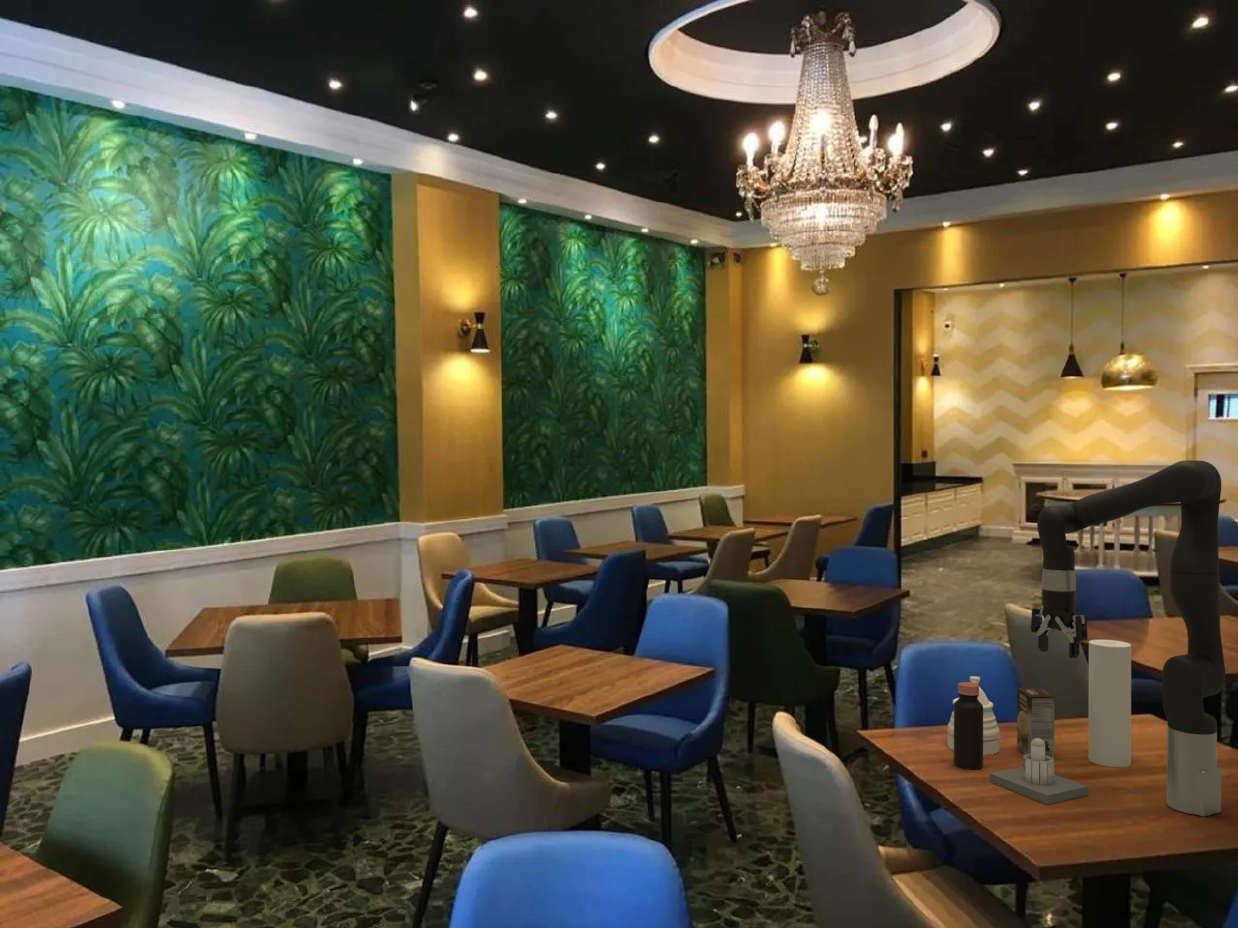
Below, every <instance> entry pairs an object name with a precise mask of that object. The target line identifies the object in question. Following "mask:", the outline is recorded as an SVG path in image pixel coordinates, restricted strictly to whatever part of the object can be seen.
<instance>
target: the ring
mask: <svg viewBox="0 0 1238 928" xmlns="http://www.w3.org/2000/svg"><path fill="white" fill-rule="evenodd" d="M1022 767H1023V779H1024V780H1025V781H1027V782H1030V783H1034V784H1040V785H1049V784H1052V783H1053V782H1054V774H1055V758H1054V759H1053V758H1052V757H1049V756H1046V755H1045V761H1035V760H1032V759H1031V754H1023V756H1022Z"/></svg>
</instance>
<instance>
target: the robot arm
mask: <svg viewBox="0 0 1238 928" xmlns="http://www.w3.org/2000/svg"><path fill="white" fill-rule="evenodd" d="M1221 493H1222V477H1221V474H1220V472H1219V471H1218V469H1217V468H1216V467H1215V465H1213V464H1212V463H1211V462H1208V461H1205V460H1199V459H1198V460H1195V459H1194V460H1193V459H1191V460H1187V459H1186V460H1180V461H1176V462H1175V463H1172V464H1170V465H1169V466H1166V467H1164V468H1163V469H1161V470H1159V471H1157V472H1155V473H1153V474H1151V475H1149V476H1147V477H1144V478H1142V479H1138V480H1136V481H1133V482H1132V483H1127V484H1124V485H1121V486H1117V487H1113V488H1109V489H1106V490H1102V491H1098V492H1096V493H1093V494H1090V495H1086V496H1084V497H1081V498H1080V499H1078V501H1075V502H1071V503H1067V504H1063V505H1062V504H1061V505H1059V504H1058V505H1048V506H1045V507H1044V508H1042V510H1040V512H1039V514H1038V517H1037V520H1036V521H1037V523H1036V524H1037V533H1038V537H1039V543H1040V545H1041V549H1042V552H1043V553H1042V575H1041V606H1042V607H1043V608H1042V607H1033V608H1031V621H1030V631H1031V632H1032V633H1035V634H1036V635H1037V636H1038V640H1037V641H1038V643H1037V644H1038V645H1037V646H1038V649H1039V652H1042V653H1044V652H1048V651H1049V633H1050V631H1051V630H1057V631H1061V632H1063V634H1064V635H1066V637H1067V639H1068V640H1069V643H1068V644H1069V645H1068V646H1069V647H1068V649H1069V651H1068V652H1069V653H1068V654H1069V655H1068V657H1069V658H1071V659H1077V658H1078V657H1079V656H1080V646H1081V645H1080V644H1081V642H1085V641H1088V617H1087V616H1086V615H1085V614H1082V615H1076V614H1075V610H1076V609H1075V608H1076V606H1077V604H1076V603H1077V599H1076V598H1077V590H1076V589H1077V586H1076V585H1077V580H1076V579H1077V578H1076V572H1075V571H1076V570H1075V568H1076V567H1075V565H1076V563H1075V562H1076V557H1075V548H1073V546H1071V545H1069V544H1068V542H1067V541H1068V540H1067V536H1066V535H1067V534H1072V533H1076V532H1078V531H1081V530H1084V529H1087V528H1089V527H1091V526H1097V525H1101V524H1104V523H1108V522H1111V521H1115V520H1119V519H1121V518H1124V517H1127V516H1128V515H1131V514H1133V513H1135V512H1138V511H1141V510H1142V509H1143V510H1144V509H1146V508H1150V507H1153V506H1154V507H1155V506H1159V505H1160V506H1161V505H1166V504H1177V503H1180V511H1181V512H1180V513H1181V515H1180V516H1181V518H1180V519H1181V523H1180V529H1179V533H1178V536H1177V538H1176V541H1175V544H1174V547H1173V550H1172V554H1171V558H1170V562H1169V586H1170V587H1169V588H1170V594H1171V597H1172V599H1173V604H1174V605H1175V606H1176V609H1177V610H1178V612H1179V615H1180V616H1181V617H1182V620H1183V622H1184V624H1185V627H1186V633H1187V653H1186V654H1179V655H1174V656H1171V657H1170V658H1168V659H1166V661H1165V662H1164V665H1163V667H1162V671H1161V691H1162V693H1161V694H1162V708H1163V712H1164V715H1165V716H1166V717H1165V718H1166V721H1167V722H1166V723H1167V725H1166V727H1167V728H1166V730H1167V732H1166V733H1167V734H1166V735H1167V737H1166V738H1167V739H1166V741H1167V742H1166V749H1167V750H1166V766H1167V767H1166V805H1167V806H1168V807H1170V808H1171V809H1173V810H1176V811H1178V812H1182V813H1186V814H1191V815H1196V816H1201V817H1207V816H1208V817H1209V816H1211V815H1215V814H1218V813H1222V768H1221V767H1219V766H1217V765H1218V763H1217V762H1218V759H1217V758H1218V757H1217V753H1218V752H1217V751H1218V749H1217V748H1218V744H1217V743H1218V740H1217V739H1218V723H1217V719H1216V717H1214V716H1213V715H1211V714H1209V713H1206V712H1205V711H1204V708H1205V707H1204V698H1205V697H1206V698H1207V697H1212V696H1215V695H1217V694H1219V693H1220V692H1221V691H1222V690H1223V688H1224V686H1225V684H1226V683H1225V682H1226V665H1225V659H1224V651H1223V650H1224V649H1223V642H1222V633H1221V613H1220V612H1221V611H1220V592H1221V591H1220V588H1221V586H1220V582H1221V581H1220V560H1219V558H1220V557H1219V551H1220V550H1219V515H1220V513H1219V512H1220V504H1221ZM1043 619H1044V620H1043Z"/></svg>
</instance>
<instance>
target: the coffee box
mask: <svg viewBox="0 0 1238 928" xmlns="http://www.w3.org/2000/svg"><path fill="white" fill-rule="evenodd" d="M1016 689H1017V691H1016V700H1017V701H1016V704H1017V705H1016V749H1017V750H1019V752H1021V753H1022V754H1023V755H1025V754H1031V742H1032V740H1033V739H1035V738H1039V739H1042V740H1043V741H1044V743H1045V755H1046V756H1049V757H1052V758H1053V759H1054V760H1055V709H1056V707H1055V704H1056V703H1055V702H1056V701H1055V699H1056V696H1054V695H1053V694H1051V693H1050V692H1048V691H1047V690H1046V689H1043V688H1042V687H1017V688H1016Z"/></svg>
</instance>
